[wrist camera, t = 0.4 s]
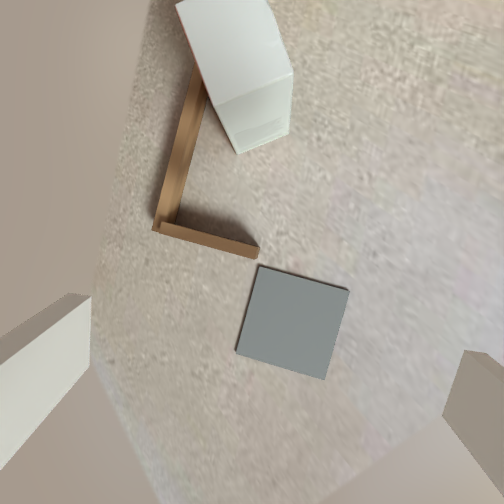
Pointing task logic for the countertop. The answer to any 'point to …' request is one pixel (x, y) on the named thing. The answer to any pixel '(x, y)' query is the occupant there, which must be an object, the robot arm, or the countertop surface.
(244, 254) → the wooden u-shaped frame
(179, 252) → the countertop surface
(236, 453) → the countertop surface
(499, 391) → the robot arm
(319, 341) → the mat
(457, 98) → the countertop surface
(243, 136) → the small box
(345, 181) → the countertop surface
